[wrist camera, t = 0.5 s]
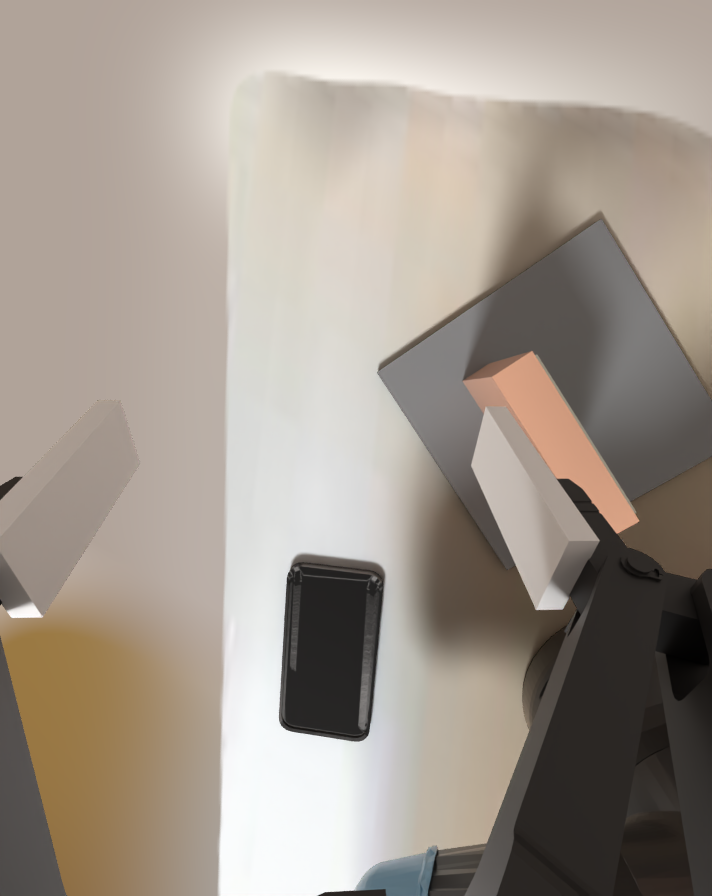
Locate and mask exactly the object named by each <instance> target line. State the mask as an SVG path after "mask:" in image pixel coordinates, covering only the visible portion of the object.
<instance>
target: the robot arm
mask: <svg viewBox="0 0 712 896" xmlns="http://www.w3.org/2000/svg"><path fill="white" fill-rule="evenodd" d="M139 464H140V461H139V458H138V454H137V451H136V448H135V445H134V442H133V438H132V435H131V432H130V429H129V426H128V422H127V419H126V416H125V413H124V410H123V407H122V403H121V401H118V400H114V401H113V400H98V401H97V402H96V403H95V404H94V405H93V406H92V407H91V408H90V409H89V410H88V411H87V412H86V413H85V414H84V415H83V416H82V417H81V418H80V419H79V420H78V421H77V422H76V423H75V425H73V426H72V427H71V428H70V429H69V431H67V433H66V434H65V435H64V436H63V437H62V438H61V439H60V440H59V441H58V442H57V443H56V444H55V445H54V446H53V447H52V448H51V449H50V450H49V451H48V452H47V453H46V454H45V455H44V456H43V457H42V458H41V459H40V460H39V461H38V462H37V463H36V464H35V465H34V466H33V467H32V468H31V469H30V470H29V471H28V472H27V473H26V474H25V475H24V477H14V478H13V479H11V480H9V481H8V482H6V483H4V484H3V485H1V486H0V605H1V604H2V605H3V607H4V608H5V609H6V611H7V612H8V614H9V615H10V616H11V618H26V617H27V618H29V617H43V616H44V614H45V613H46V611H47V610H48V608H49V606H50V605H51V603H52V602H53V600H54V599H55V597H56V595H57V594H58V592H59V591H60V589H61V588H62V586H63V584H64V583H65V581H66V580H67V578H68V576H69V575H70V573H71V572H72V570H73V569H74V567H75V565H76V564H77V562H78V561H79V559H80V558H81V556H82V554H83V553H84V551H85V550H86V548H87V547H88V545H89V543H90V542H91V540H92V539H93V537H94V536H95V534H96V532H97V531H98V529H99V528H100V526H101V525H102V523H103V521H104V520H105V518H106V517H107V515H108V513H109V512H110V510H111V509H112V507H113V506H114V504H115V502H116V501H117V499H118V498H119V496H120V495H121V493H122V491H123V490H124V488H125V487H126V485H127V483H128V482H129V480H130V479H131V477H132V476H133V474H134V473H135V471H136V469H137V468H138V466H139ZM471 467H472V469H473V471H474V473H475V476H476V478H477V480H478V482H479V484H480V487H481V489H482V491H483V493H484V496H485V498H486V500H487V502H488V504H489V507H490V509H491V511H492V513H493V516H494V518H495V520H496V522H497V524H498V527H499V529H500V531H501V533H502V536H503V538H504V540H505V542H506V544H507V547H508V549H509V551H510V553H511V556H512V558H513V560H514V562H515V564H516V567H517V569H518V571H519V573H520V576H521V578H522V580H523V582H524V584H525V587H526V589H527V591H528V593H529V595H530V598H531V600H532V602H533V604H534V607H535V609H536V610H563V608H564V606H565V604H566V603H567V601H568V599H569V597H570V596H571V598H572V600H573V602H574V604H575V606H576V607H577V610H576V611H575V613H574V615H573V617H572V618H571V620H570V622H569V624H568V625H567V626H566V627H565V628H563V629H562V630H560V631H559V632H557V633H556V634H555V635H554V636H552V637H551V638H550V639H549V640H548V641H547V642H546V643H545V644H544V645H543V646H542V647H541V649H540V650H539V651H538V653H537V654H536V656H535V657H534V659H533V661H532V662H531V664H530V666H529V669H528V671H527V674H526V677H525V681H524V686H523V695H522V702H523V710H524V716H525V719H526V722H527V725H528V728H529V734H528V736H527V739H526V742H525V744H524V747H523V749H522V752H521V755H520V757H519V760H518V763H517V765H516V768H515V771H514V773H513V776H512V779H511V781H510V784H509V786H508V789H507V792H506V794H505V797H504V800H503V802H502V805H501V808H500V810H499V813H498V816H497V818H496V821H495V824H494V826H493V829H492V831H491V834H490V837H489V839H488V842H487V844H480V845H472V846H465V847H458V848H451V849H444V850H438V847H437V846H432V847H429V848H428V850H427V852H426V853H422V854H418V855H413V856H408V857H404V858H399V859H395V860H390V861H385V862H381V863H378V864H376V865H375V866H373V867H372V868H370V869H369V870H368V871H367V872H366V873H365V874H364V876H363V877H362V878H361V880H360V882H359V883H358V885H357V886H356V888H355V890H354V891H341V892H325V893H323V894H320V895H318V896H712V569H707V570H706V571H705V572H704V573H702V575H701V576H700V577H699V578H698V580H695V579H691V578H687V577H682V576H678V575H674V574H670V573H666V572H665V571H664V570H663V568H662V567H661V566H660V565H659V564H658V563H657V562H656V561H655V560H654V559H652V558H651V557H649V556H647V555H646V554H644V553H642V552H640V551H637V550H634V549H631V548H627V547H626V545H625V544H624V543H623V541H622V540H621V539H620V537H619V536H618V535H617V534H616V532H615V531H614V530H613V528H612V527H611V526H610V524H609V523H608V522H607V520H606V519H605V518H604V516H603V515H602V514H601V513H599V510H598V508H597V507H596V506H595V505H594V504H592V501H591V499H590V498H589V497H588V495H587V494H586V493H585V491H584V490H583V489H582V488H581V487H579V486H578V485H577V484H575V483H574V482H573V481H571V480H570V479H556V477H555V476H554V475H553V473H552V472H551V470H550V469H549V467H548V466H547V465H546V463H545V462H544V460H543V459H542V457H541V456H540V455H539V453H538V452H537V450H536V449H535V447H534V446H533V445H532V443H531V442H530V440H529V439H528V437H527V436H526V435H525V433H524V432H523V430H522V429H521V427H520V426H519V425H518V423H517V422H516V420H515V419H514V417H513V416H512V415H511V413H510V412H509V410H508V409H507V407H493V406H486V408H485V412H484V416H483V420H482V424H481V428H480V432H479V436H478V440H477V444H476V448H475V452H474V456H473V460H472V464H471ZM0 896H67V895H66V893H65V890H64V887H63V883H62V880H61V876H60V872H59V868H58V864H57V860H56V856H55V852H54V848H53V844H52V840H51V836H50V832H49V828H48V824H47V820H46V816H45V813H44V808H43V804H42V800H41V796H40V793H39V788H38V785H37V781H36V776H35V772H34V768H33V764H32V761H31V757H30V753H29V749H28V745H27V741H26V737H25V733H24V729H23V725H22V721H21V717H20V713H19V709H18V705H17V701H16V697H15V693H14V689H13V685H12V681H11V677H10V673H9V669H8V665H7V661H6V657H5V654H4V649H3V646H2V642H1V638H0Z"/></svg>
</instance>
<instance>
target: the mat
mask: <svg viewBox="0 0 712 896" xmlns="http://www.w3.org/2000/svg"><path fill="white" fill-rule="evenodd" d="M530 351H533V353H534V355H536V354H537V355H538V356H539V358H540V359H541V361H542V363H543V364H544V366H545V367H546V369H547V371H548V372H549V374H550V375H551V377H552V379H553V380H554V382H555V383H556V385H557V386H558V388H559V390H560V391H561V393H562V394H563V396H564V398H565V399H566V401H567V402H568V404H569V406H570V407H571V409H572V410H573V412H574V413H575V415H576V417H577V418H578V420H579V421H580V423H581V425H582V426H583V428H584V429H585V431H586V433H587V434H588V436H589V437H590V439H591V440H592V442H593V444H594V445H595V447H596V448H597V450H598V452H599V453H600V455H601V456H602V458H603V460H604V461H605V463H606V464H607V466H608V467H609V469H610V471H611V472H612V474H613V475H614V477H615V479H616V480H617V482H618V483H619V485H620V487H621V488H622V490H623V491H624V493H625V494H626V496H627V498H628V499H629V501H630V502H631V501H632V500H634V499H636V498H638V497H640V496H641V495H643V494H645V493H647V492H649V491H650V490H652V489H654V488H656V487H658V486H659V485H661V484H663V483H665V482H667V481H668V480H670V479H672V478H674V477H676V476H677V475H679V474H681V473H683V472H685V471H686V470H688V469H690V468H692V467H694V466H695V465H697V464H699V463H701V462H703V461H704V460H706V459H708V458H710V457H712V400H711V398H710V397H709V395H708V394H707V392H706V390H705V389H704V387H703V385H702V384H701V382H700V380H699V379H698V377H697V375H696V374H695V372H694V370H693V369H692V367H691V365H690V364H689V362H688V361H687V359H686V357H685V356H684V354H683V352H682V351H681V349H680V347H679V346H678V344H677V342H676V341H675V339H674V337H673V336H672V334H671V332H670V331H669V329H668V328H667V326H666V324H665V323H664V321H663V319H662V318H661V316H660V314H659V313H658V311H657V309H656V308H655V306H654V304H653V303H652V301H651V299H650V298H649V296H648V295H647V293H646V291H645V290H644V288H643V286H642V285H641V283H640V281H639V280H638V278H637V276H636V275H635V273H634V271H633V270H632V268H631V266H630V265H629V263H628V262H627V260H626V258H625V257H624V255H623V253H622V252H621V250H620V248H619V247H618V245H617V243H616V242H615V240H614V238H613V237H612V235H611V233H610V232H609V230H608V229H607V227H606V225H605V224H604V222H603V220H602V219H600V220H599V221H597V222H596V223H594V224H593V225H591V226H590V227H588V228H587V229H585V230H584V231H582V232H581V233H580V234H578V235H577V236H575V237H574V238H572V239H571V240H569V241H568V242H566V243H565V244H563V245H562V246H561V247H559V248H558V249H556V250H555V251H553V252H552V253H550V254H549V255H547V256H546V257H544V258H543V259H542V260H540V261H539V262H537V263H536V264H534V265H533V266H531V267H530V268H528V269H527V270H526V271H524V272H523V273H521V274H520V275H518V276H517V277H515V278H514V279H512V280H511V281H509V282H508V283H507V284H505V285H504V286H502V287H501V288H499V289H498V290H496V291H495V292H493V293H492V294H490V295H489V296H488V297H486V298H485V299H483V300H482V301H480V302H479V303H477V304H476V305H474V306H473V307H472V308H470V309H469V310H467V311H466V312H464V313H463V314H461V315H460V316H458V317H457V318H455V319H454V320H453V321H451V322H450V323H448V324H447V325H445V326H444V327H442V328H441V329H439V330H438V331H436V332H435V333H434V334H432V335H431V336H429V337H428V338H426V339H425V340H423V341H422V342H420V343H419V344H417V345H416V346H415V347H413V348H412V349H410V350H409V351H407V352H406V353H404V354H403V355H401V356H400V357H399V358H397V359H396V360H394V361H393V362H391V363H390V364H388V365H387V366H385V367H384V368H382V369H381V370H380V371H378V372H377V373H378V375H379V376H380V378H381V379H382V381H383V382H384V384H385V385H386V387H387V388H388V390H389V392H390V393H391V395H392V396H393V398H394V399H395V401H396V402H397V404H398V405H399V407H400V408H401V410H402V411H403V413H404V414H405V416H406V417H407V419H408V420H409V422H410V423H411V425H412V427H413V428H414V430H415V431H416V433H417V434H418V436H419V437H420V439H421V440H422V442H423V443H424V445H425V446H426V448H427V449H428V451H429V452H430V454H431V455H432V457H433V458H434V460H435V461H436V463H437V465H438V466H439V468H440V469H441V471H442V472H443V474H444V475H445V477H446V478H447V480H448V481H449V483H450V484H451V486H452V487H453V489H454V490H455V492H456V493H457V495H458V496H459V498H460V500H461V501H462V503H463V504H464V506H465V507H466V509H467V510H468V512H469V513H470V515H471V516H472V518H473V519H474V521H475V522H476V524H477V525H478V527H479V528H480V530H481V531H482V533H483V535H484V536H485V538H486V539H487V541H488V542H489V544H490V545H491V547H492V548H493V550H494V551H495V553H496V554H497V556H498V557H499V559H500V560H501V562H502V563H503V565H504V566H505V568H506V569H507V570H508V569H510V568H512V567H514V566H515V565H516V564H515V562H514V560H513V558H512V556H511V553H510V551H509V549H508V547H507V544H506V542H505V540H504V538H503V536H502V533H501V531H500V529H499V527H498V524H497V522H496V520H495V518H494V516H493V513H492V511H491V509H490V507H489V504H488V502H487V500H486V498H485V496H484V493H483V491H482V489H481V487H480V484H479V482H478V480H477V478H476V476H475V473H474V471H473V469H472V467H471V464H472V460H473V456H474V452H475V448H476V444H477V440H478V436H479V432H480V428H481V424H482V420H483V416H484V414H483V412H482V411H481V409H480V407H479V406H478V404H477V403H476V401H475V400H474V398H473V397H472V395H471V394H470V392H469V390H468V389H467V387H466V386H465V384H464V383H463V380H465V379H466V378H468V377H469V376H471V375H472V374H474V373H475V372H477V371H478V370H480V369H481V368H483V367H484V366H486V365H488V364H489V363H493V362H496V361H499V360H503V359H506V358H510V357H513V356H516V355H520V354H523V353H527V352H530Z"/></svg>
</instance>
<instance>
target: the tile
mask: <svg viewBox="0 0 712 896" xmlns="http://www.w3.org/2000/svg"><path fill="white" fill-rule="evenodd" d="M463 383H464V384H465V386H466V387H467V389H468V390H469V392H470V394H471V395H472V397H473V398H474V400H475V401H476V403H477V404H478V406H479V407H480V409H481V411H482V412H483V414H484V412H485V408H486V406H493V407H507V409H508V410H509V412H510V413H511V415H512V416H513V417H514V419H515V420H516V422H517V423H518V425H519V426H520V427H521V429H522V430H523V432H524V433H525V435H526V436H527V437H528V439H529V440H530V442H531V443H532V445H533V446H534V447H535V449H536V450H537V452H538V453H539V455H540V456H541V457H542V459H543V460H544V462H545V463H546V465H547V466H548V467H549V469H550V470H551V472H552V473H553V475H554V476H555V477H556V479H570V480H571V481H573V482H574V483H575V484H577V485H578V486H579V487H581V488H582V489H583V490H584V491H585V493H586V494H587V495H588V497H589V498H590V499H591V501H592V504H594V505H595V506H596V507H597V508H598V510H599V513H601V514H602V515H603V516H604V518H605V519H606V520H607V522H608V523H609V524H610V526H611V527H612V528H613V530H614V531H615V532H616V534H617V533H619V532H621V531H623V530H625V529H627V528H629V527H630V526H632V525H634V524H636V523H638V522H640V521H639V520H638V518H637V516H636V515H635V513H637V512H636V510H635V509H634V507H633V506H632V504H631V502H630V501H629V499H628V498H627V496H626V494H625V493H624V491H623V490H622V488H621V487H620V485H619V483H618V482H617V480H616V479H615V477H614V475H613V474H612V472H611V471H610V469H609V467H608V466H607V464H606V463H605V461H604V460H603V458H602V456H601V455H600V453H599V452H598V450H597V448H596V447H595V445H594V444H593V442H592V440H591V439H590V437H589V436H588V434H587V433H586V431H585V429H584V428H583V426H582V425H581V423H580V421H579V420H578V418H577V417H576V415H575V413H574V412H573V410H572V409H571V407H570V406H569V404H568V402H567V401H566V399H565V398H564V396H563V394H562V393H561V391H560V390H559V388H558V386H557V385H556V383H555V382H554V380H553V379H552V377H551V375H550V374H549V372H548V371H547V369H546V367H545V366H544V364H543V363H542V361H541V359H540V358H539V356H538V355H537V354H536V355H534V353H533V351H530V352H527V353H523V354H520V355H516V356H513V357H510V358H506V359H503V360H499V361H496V362H493V363H489V364H488V365H486V366H484V367H483V368H481V369H480V370H478V371H477V372H475V373H474V374H472V375H471V376H469V377H468V378H466V379H465V380H463Z"/></svg>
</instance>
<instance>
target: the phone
mask: <svg viewBox="0 0 712 896" xmlns="http://www.w3.org/2000/svg"><path fill="white" fill-rule="evenodd" d="M382 592H383V581H382V579H381V577H380V576H379V575H378V574H377V573H376V572H374V571H370V570H362V569H354V568H345V567H337V566H329V565H321V564H313V563H304V562H303V563H297V564H295V565H294V566H293V567H292V568H291V570H290V572H289V573H288V576H287V587H286V604H285V618H284V621H285V622H284V639H283V656H282V674H281V691H280V708H279V721H280V724H281V725H282V726H283V728H285V729H286V730H288V731H291V732H298V733H304V734H310V735H317V736H323V737H330V738H336V739H342V740H348V741H358V742H359V741H362V740H364V739H365V738H366V737H367V736H368V734H369V729H370V718H371V708H372V697H373V687H374V676H375V666H376V655H377V644H378V634H379V623H380V613H381V602H382Z"/></svg>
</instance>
